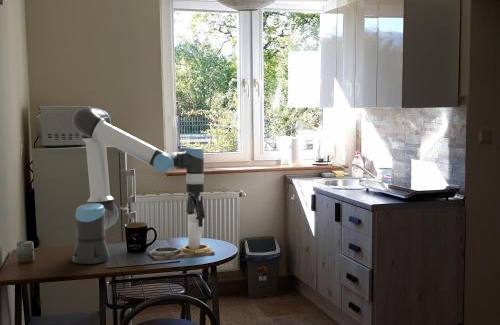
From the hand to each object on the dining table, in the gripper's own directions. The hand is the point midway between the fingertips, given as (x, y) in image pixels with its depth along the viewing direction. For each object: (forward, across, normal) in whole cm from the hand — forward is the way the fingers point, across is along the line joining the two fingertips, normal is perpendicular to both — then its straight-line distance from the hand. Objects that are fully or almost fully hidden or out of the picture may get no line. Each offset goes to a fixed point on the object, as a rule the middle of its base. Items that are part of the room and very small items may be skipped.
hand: (195, 231), depth 255 cm
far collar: (+8, 0, 0) cm, 8 cm away
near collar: (+8, 0, +13) cm, 16 cm away
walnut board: (+10, 0, +6) cm, 12 cm away
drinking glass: (+7, +3, 0) cm, 8 cm away
